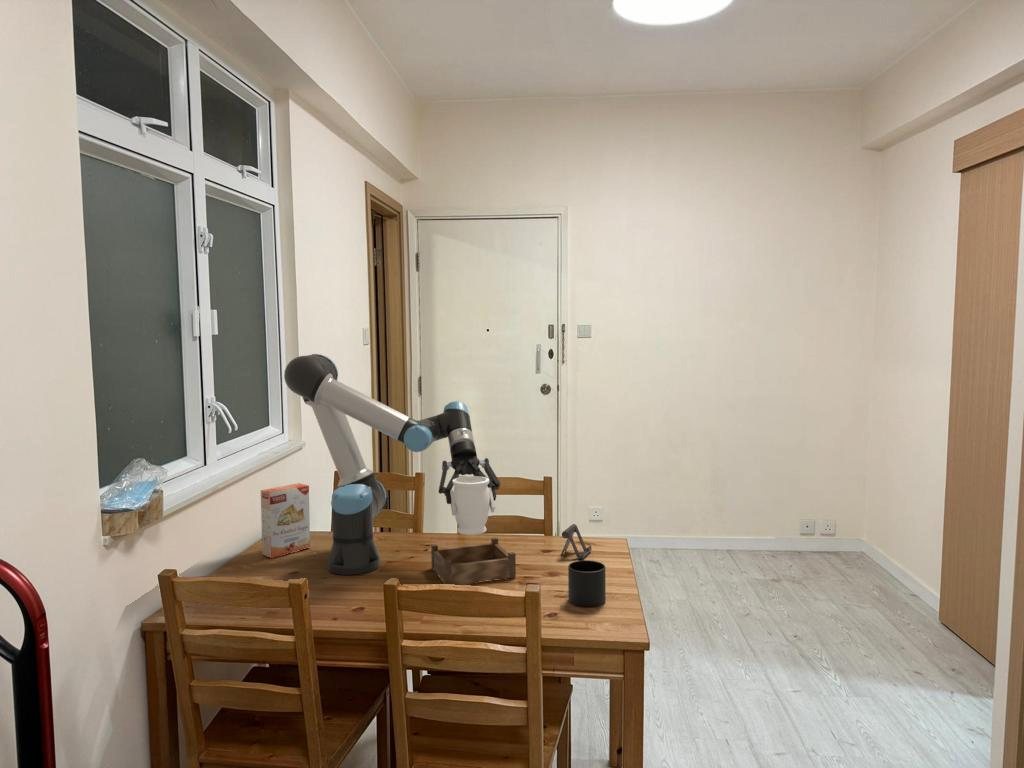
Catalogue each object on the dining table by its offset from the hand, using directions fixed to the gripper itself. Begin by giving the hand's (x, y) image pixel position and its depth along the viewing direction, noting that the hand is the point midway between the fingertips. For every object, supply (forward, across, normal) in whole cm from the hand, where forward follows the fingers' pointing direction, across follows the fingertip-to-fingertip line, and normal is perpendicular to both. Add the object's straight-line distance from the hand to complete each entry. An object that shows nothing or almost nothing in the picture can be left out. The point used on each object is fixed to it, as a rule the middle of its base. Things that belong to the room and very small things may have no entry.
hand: (473, 511), depth 203 cm
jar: (+3, 0, +7) cm, 7 cm away
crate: (+11, 0, +15) cm, 19 cm away
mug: (+31, +24, -4) cm, 40 cm away
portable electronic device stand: (+6, +34, +21) cm, 40 cm away
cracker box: (-14, -52, +41) cm, 68 cm away
